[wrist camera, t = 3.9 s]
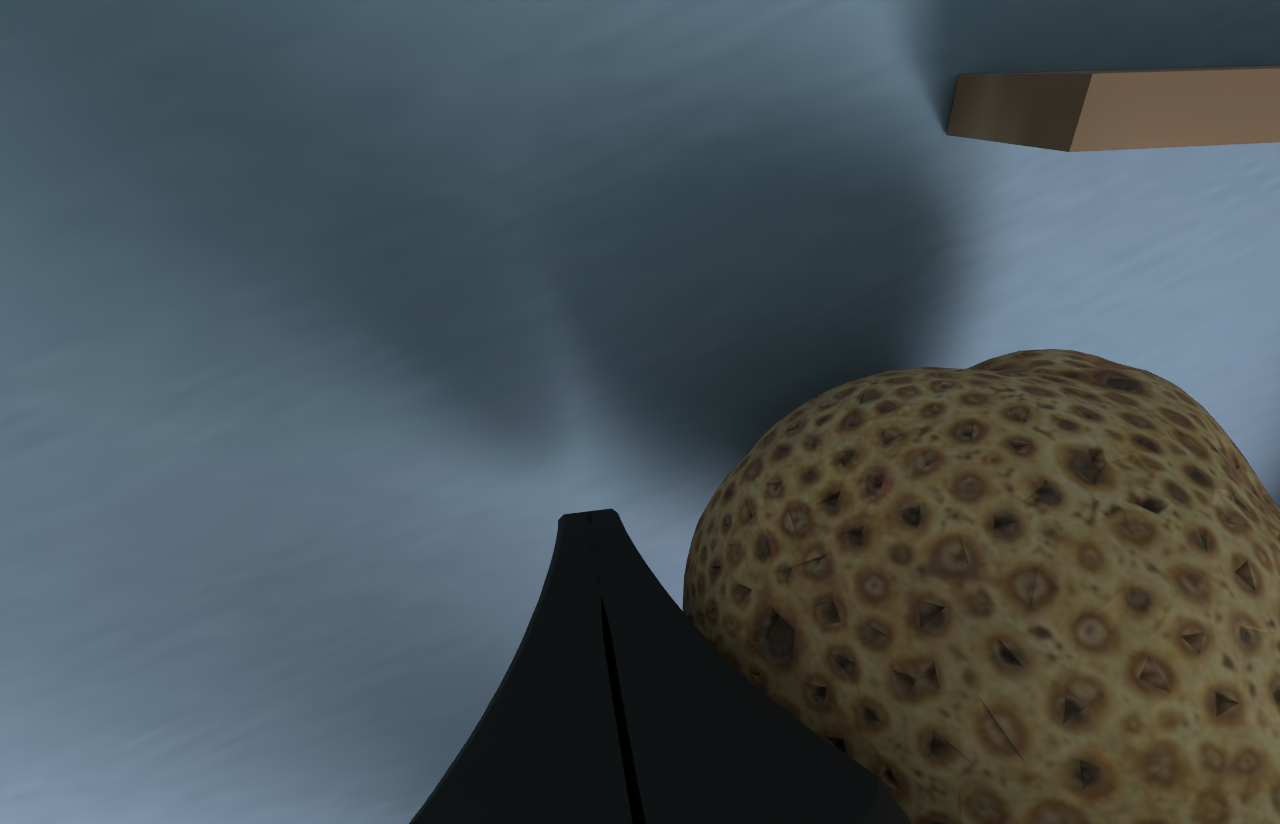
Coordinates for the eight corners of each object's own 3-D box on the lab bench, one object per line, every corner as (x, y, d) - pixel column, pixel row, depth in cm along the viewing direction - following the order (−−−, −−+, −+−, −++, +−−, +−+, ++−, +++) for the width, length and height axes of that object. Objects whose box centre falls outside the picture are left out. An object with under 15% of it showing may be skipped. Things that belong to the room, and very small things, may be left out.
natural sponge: (605, 577, 15) (709, 1214, 7) (708, 227, 12) (1252, 674, 3) (905, 598, 18) (1264, 1088, 9) (1074, 314, 14) (1967, 700, 5)
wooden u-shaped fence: (1275, 594, 21) (1470, 729, 17) (837, 664, 19) (929, 839, 14) (1640, 55, 13) (2191, 45, 9) (958, 74, 11) (1239, 73, 7)
